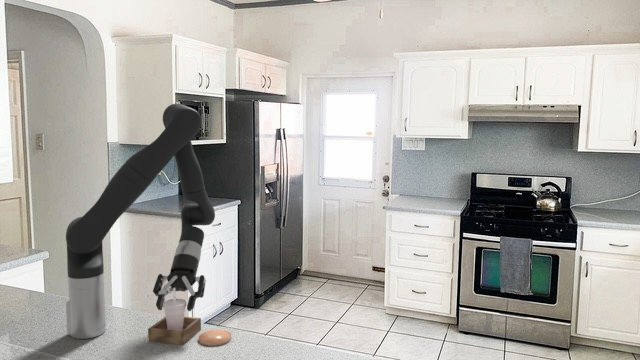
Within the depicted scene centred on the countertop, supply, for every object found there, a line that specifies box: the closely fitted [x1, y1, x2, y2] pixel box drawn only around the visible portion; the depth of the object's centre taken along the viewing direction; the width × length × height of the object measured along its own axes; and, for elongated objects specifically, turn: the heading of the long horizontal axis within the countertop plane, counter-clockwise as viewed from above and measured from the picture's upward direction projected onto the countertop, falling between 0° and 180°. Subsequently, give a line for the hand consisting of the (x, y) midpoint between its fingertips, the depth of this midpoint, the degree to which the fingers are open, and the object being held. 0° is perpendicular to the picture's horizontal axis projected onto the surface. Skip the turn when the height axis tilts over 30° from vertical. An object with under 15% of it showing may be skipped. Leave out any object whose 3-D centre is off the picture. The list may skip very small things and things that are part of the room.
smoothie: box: [162, 288, 187, 331], centre depth 142 cm, size 6×6×14 cm
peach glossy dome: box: [198, 329, 233, 347], centre depth 140 cm, size 9×9×1 cm
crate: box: [147, 316, 202, 346], centre depth 142 cm, size 11×11×4 cm
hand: (174, 309), depth 141 cm, fingers open, 8 cm apart
